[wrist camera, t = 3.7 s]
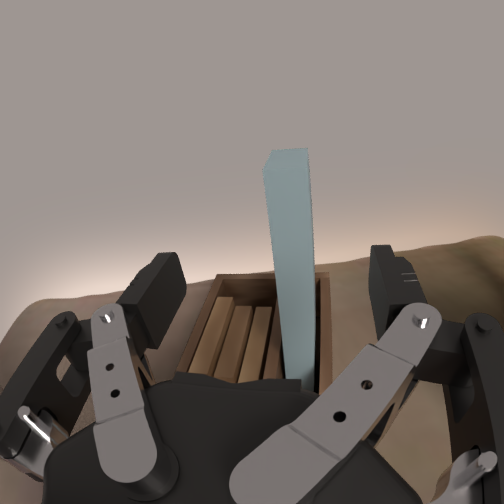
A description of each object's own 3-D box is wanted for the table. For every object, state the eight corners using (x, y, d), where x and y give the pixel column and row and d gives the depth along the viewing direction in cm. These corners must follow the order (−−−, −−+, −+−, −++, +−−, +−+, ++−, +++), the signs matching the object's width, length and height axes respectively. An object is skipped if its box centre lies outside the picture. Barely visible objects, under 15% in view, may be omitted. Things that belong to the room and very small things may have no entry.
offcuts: (206, 415, 33) (186, 375, 29) (229, 337, 44) (218, 294, 39) (262, 420, 31) (252, 381, 27) (275, 339, 42) (270, 294, 38)
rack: (180, 444, 29) (157, 414, 26) (225, 310, 49) (216, 274, 45) (326, 458, 26) (331, 430, 22) (328, 310, 45) (329, 272, 42)
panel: (287, 396, 34) (262, 170, 20) (292, 358, 39) (272, 150, 26) (313, 396, 33) (307, 167, 20) (315, 358, 38) (307, 148, 25)
